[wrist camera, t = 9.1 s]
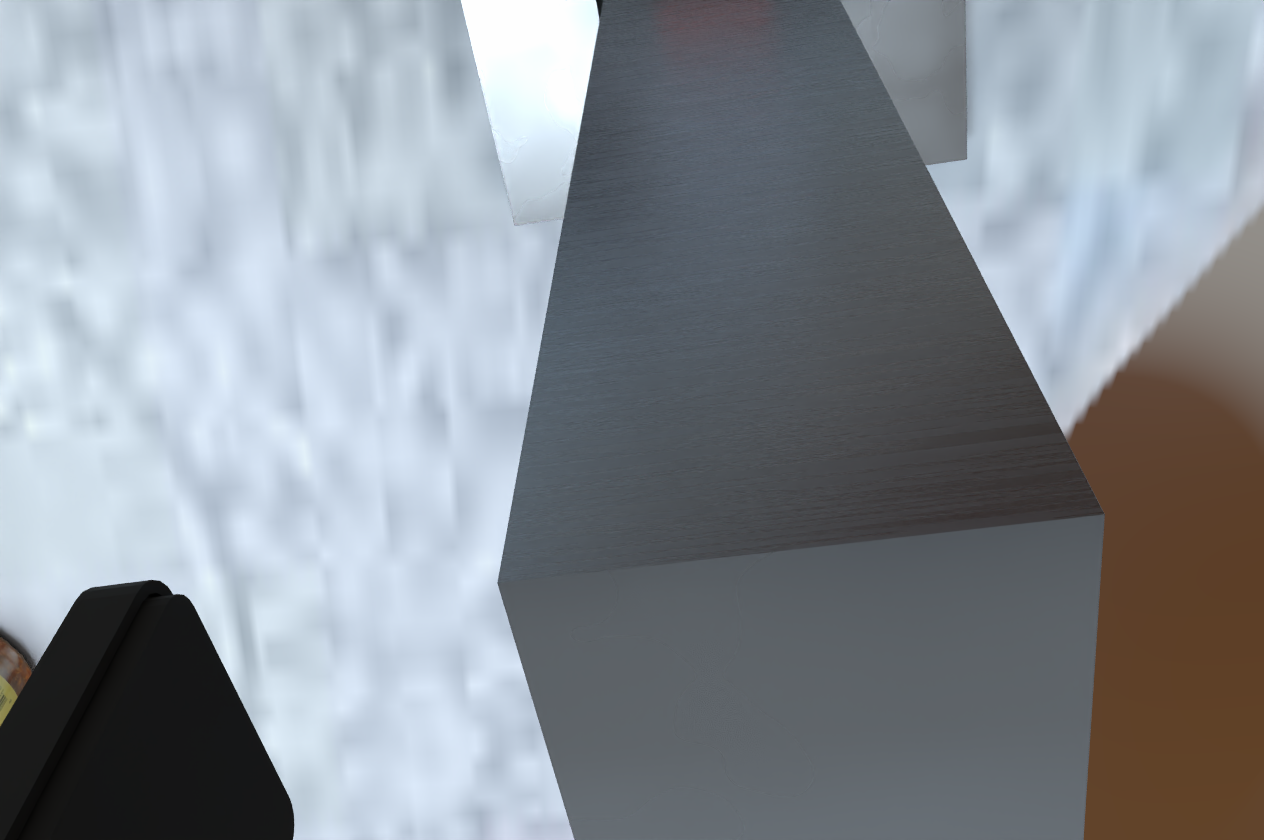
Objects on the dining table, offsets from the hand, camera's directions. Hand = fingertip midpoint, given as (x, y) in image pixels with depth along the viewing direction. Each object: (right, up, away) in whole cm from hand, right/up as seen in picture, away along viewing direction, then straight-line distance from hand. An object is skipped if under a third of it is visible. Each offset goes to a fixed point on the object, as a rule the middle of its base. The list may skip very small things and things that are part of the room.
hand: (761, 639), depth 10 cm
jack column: (+1, +11, +18) cm, 21 cm away
